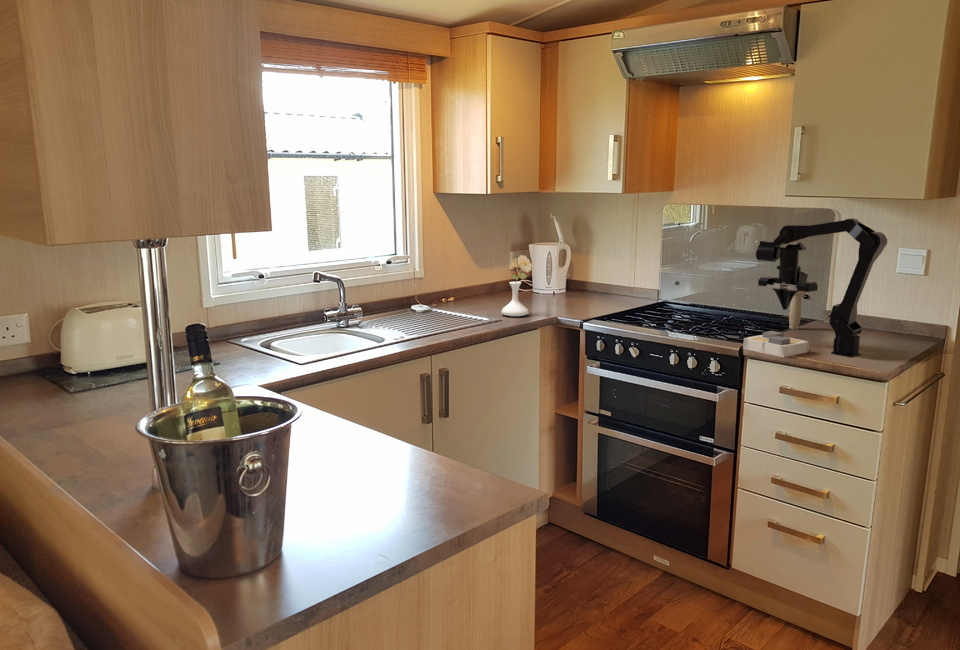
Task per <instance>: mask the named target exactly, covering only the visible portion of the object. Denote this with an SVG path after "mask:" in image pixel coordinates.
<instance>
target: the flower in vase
mask: <svg viewBox="0 0 960 650" xmlns="http://www.w3.org/2000/svg"><path fill="white" fill-rule="evenodd" d="M517 263H518V267H520V270H519V273H518V275H517V276H516V275H514V274H511V279H514V280H515V281H510V282H508V283H509V285H510V287H511V292H512V297H511V301H510V302H509V303H508V304H507V305H505V306H504V307H503V308H502V309H501V314H502V315H504V316H509V317H523V316H526V315H528V314H529V313H530V312H529V309H528V308H527V307H526V306H525V305H524V304H523V303H522V302H520V300H519V289H520V286H521V284H522V282H521V281H518V280H519V278H521V279H522V280H525V279H527V278H528V276H527V275H526V273H530V272H531V271H532V269H533V268H532V267H533V265H532V263H531V260H530V259H529V258H528V257H527V256H526V255H525V254H524V255H523V254H521V255H519V257H518V259H517ZM522 271H523V272H522Z"/></svg>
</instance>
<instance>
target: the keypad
mask: <svg viewBox="0 0 960 650" xmlns="http://www.w3.org/2000/svg"><path fill="white" fill-rule="evenodd" d="M759 337H761V338H765V337H763V334H759V335H753V336H748V337H744V338H743V345H742V349H743V350H747V351H752V352H753V351H754V352H757V353H760V354H761V353H762V354H767V355H770V356H775V357H781V358H788V357H792V356H797V355H801V354H806V353H809V346H810V344H809V343H810V342H809V341H808V340H804V339H798V338H792V337H789V336H787V337H786V336H784V337H785V338H790V339H793V340H799V341H800V342H795V343H791V342H790V344H785V345H778V344H773V343H768V342H769V341H765V342H763V341H758V340H753V339H754V338H759ZM766 339H769V338H766Z"/></svg>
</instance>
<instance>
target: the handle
mask: <svg viewBox="0 0 960 650" xmlns="http://www.w3.org/2000/svg"><path fill="white" fill-rule="evenodd" d="M806 293H807V292H804V291H798V292H797V293H796V294H795V295H794V296H793V298H792V300H791V302H790V305H789V306H790V308H789V314H788V315H789V316H788V321H789V323H788V324H789V326H788V327H789V329H790V330H799V328H800V323H801V317H802V297H803V295H806Z"/></svg>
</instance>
